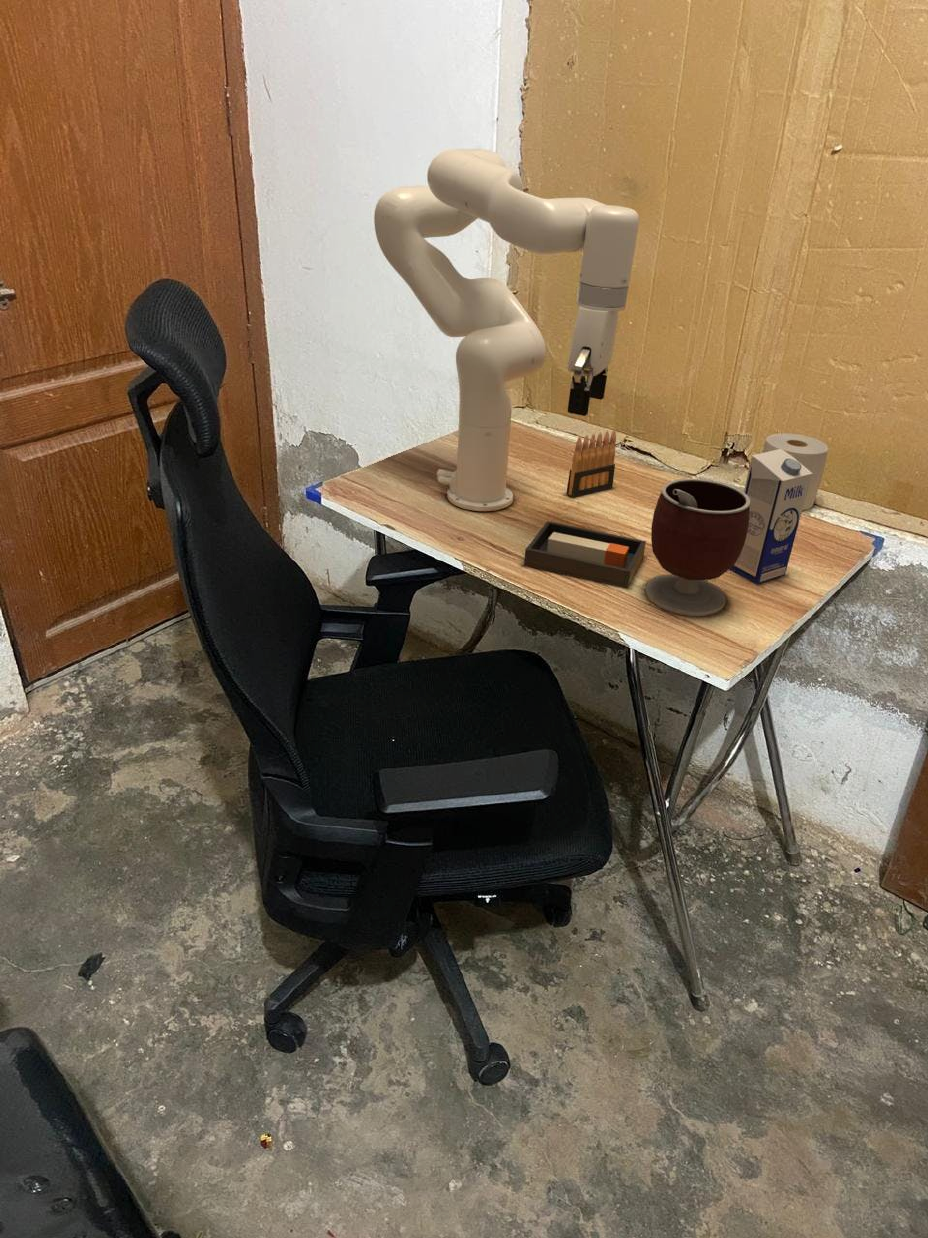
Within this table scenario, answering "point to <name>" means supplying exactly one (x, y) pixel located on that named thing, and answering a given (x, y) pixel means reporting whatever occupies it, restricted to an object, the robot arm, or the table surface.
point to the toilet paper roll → (802, 457)
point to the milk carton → (772, 514)
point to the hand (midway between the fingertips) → (585, 405)
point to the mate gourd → (696, 543)
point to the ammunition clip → (592, 465)
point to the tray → (579, 567)
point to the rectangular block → (588, 549)
